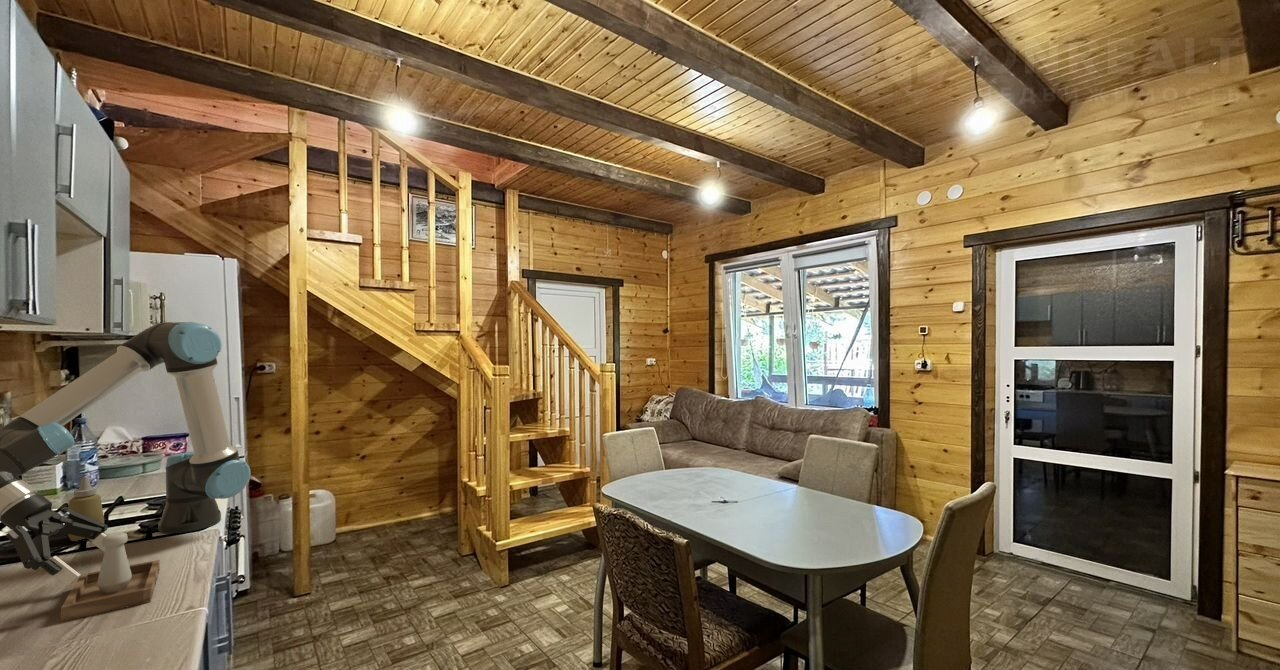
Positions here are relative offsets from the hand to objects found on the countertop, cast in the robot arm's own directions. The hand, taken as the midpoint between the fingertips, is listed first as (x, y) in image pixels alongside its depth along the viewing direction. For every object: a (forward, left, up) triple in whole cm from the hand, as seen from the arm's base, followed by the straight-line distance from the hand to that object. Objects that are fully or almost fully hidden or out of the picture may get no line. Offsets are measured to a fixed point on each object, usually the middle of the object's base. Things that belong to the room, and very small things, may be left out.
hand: (98, 567), depth 124 cm
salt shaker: (-1, +3, -6) cm, 7 cm away
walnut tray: (-1, +3, -7) cm, 7 cm away
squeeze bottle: (-28, -42, -7) cm, 51 cm away
